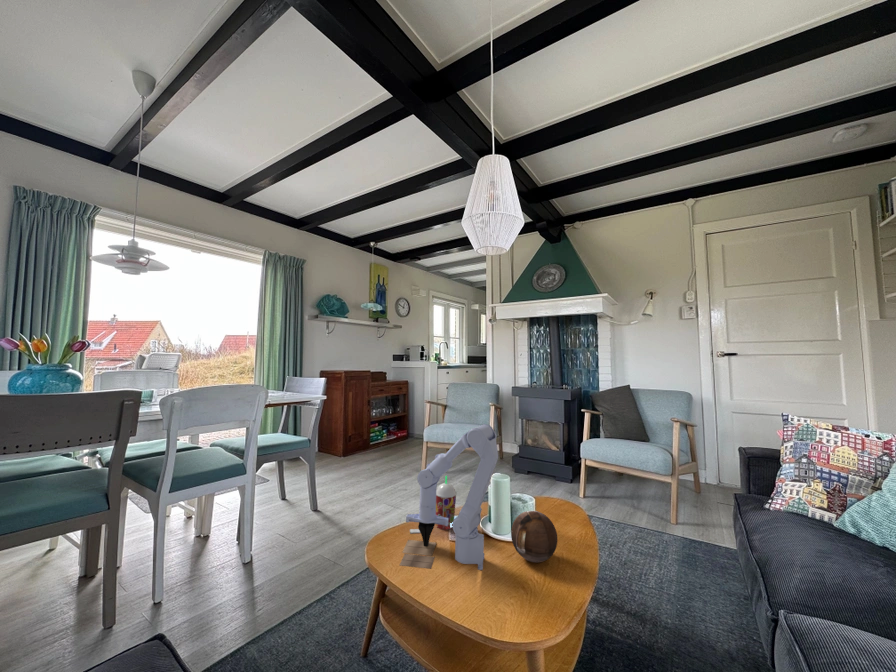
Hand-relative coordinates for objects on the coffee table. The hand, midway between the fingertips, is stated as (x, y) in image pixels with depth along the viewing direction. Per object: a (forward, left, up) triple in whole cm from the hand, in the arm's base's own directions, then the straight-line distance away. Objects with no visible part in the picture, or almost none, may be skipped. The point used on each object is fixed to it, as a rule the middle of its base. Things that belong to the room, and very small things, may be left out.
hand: (426, 544), depth 121 cm
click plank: (+2, +2, -1) cm, 3 cm away
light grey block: (+6, -9, -2) cm, 11 cm away
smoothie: (-4, -16, -2) cm, 17 cm away
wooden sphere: (-36, -1, -2) cm, 36 cm away
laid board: (+1, +10, -2) cm, 10 cm away
